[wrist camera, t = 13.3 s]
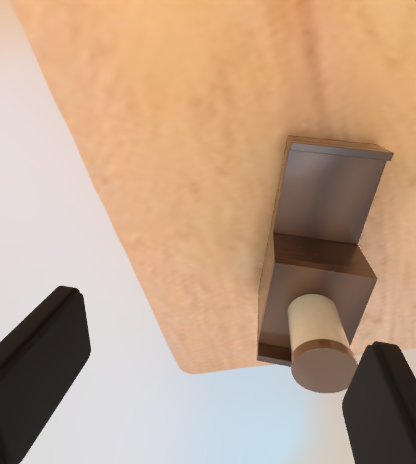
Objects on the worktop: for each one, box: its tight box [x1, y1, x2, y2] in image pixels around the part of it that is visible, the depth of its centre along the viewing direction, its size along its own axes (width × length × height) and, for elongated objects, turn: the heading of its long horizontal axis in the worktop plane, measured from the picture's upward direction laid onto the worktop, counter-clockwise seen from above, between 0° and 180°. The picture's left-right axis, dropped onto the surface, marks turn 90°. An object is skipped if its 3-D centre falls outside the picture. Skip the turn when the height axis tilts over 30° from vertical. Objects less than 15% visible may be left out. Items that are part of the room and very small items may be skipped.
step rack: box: [257, 136, 393, 367], centre depth 34 cm, size 10×23×13 cm, turn 175°
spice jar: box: [287, 294, 358, 393], centre depth 29 cm, size 6×6×8 cm
